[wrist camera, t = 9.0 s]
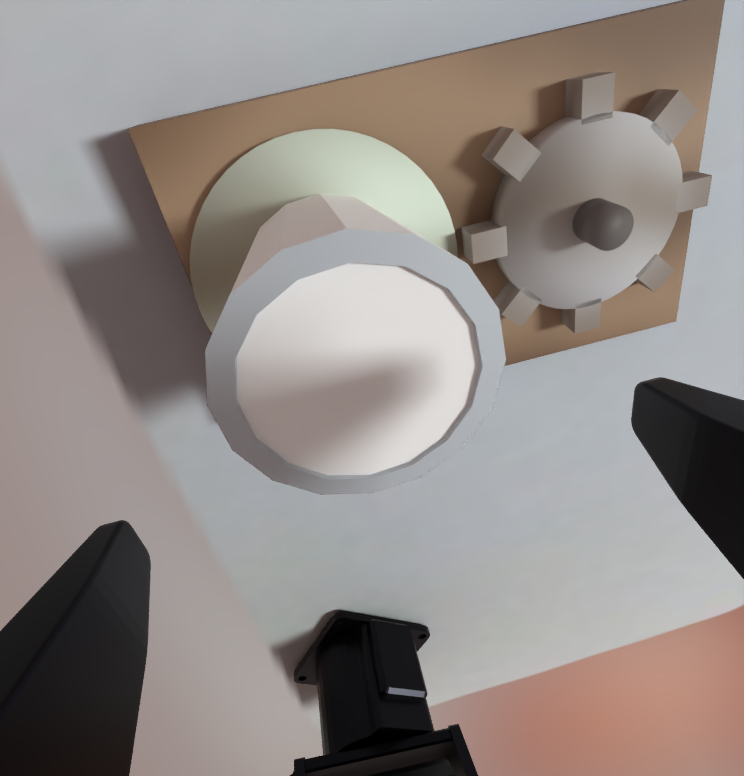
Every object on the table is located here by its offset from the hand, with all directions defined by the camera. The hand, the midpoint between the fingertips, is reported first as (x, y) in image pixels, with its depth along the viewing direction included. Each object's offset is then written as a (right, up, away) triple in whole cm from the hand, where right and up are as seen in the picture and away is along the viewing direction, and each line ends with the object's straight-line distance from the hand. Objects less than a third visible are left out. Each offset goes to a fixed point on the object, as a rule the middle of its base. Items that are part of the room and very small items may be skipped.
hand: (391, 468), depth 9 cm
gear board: (+2, +7, +10) cm, 13 cm away
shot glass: (-2, +5, +9) cm, 10 cm away
